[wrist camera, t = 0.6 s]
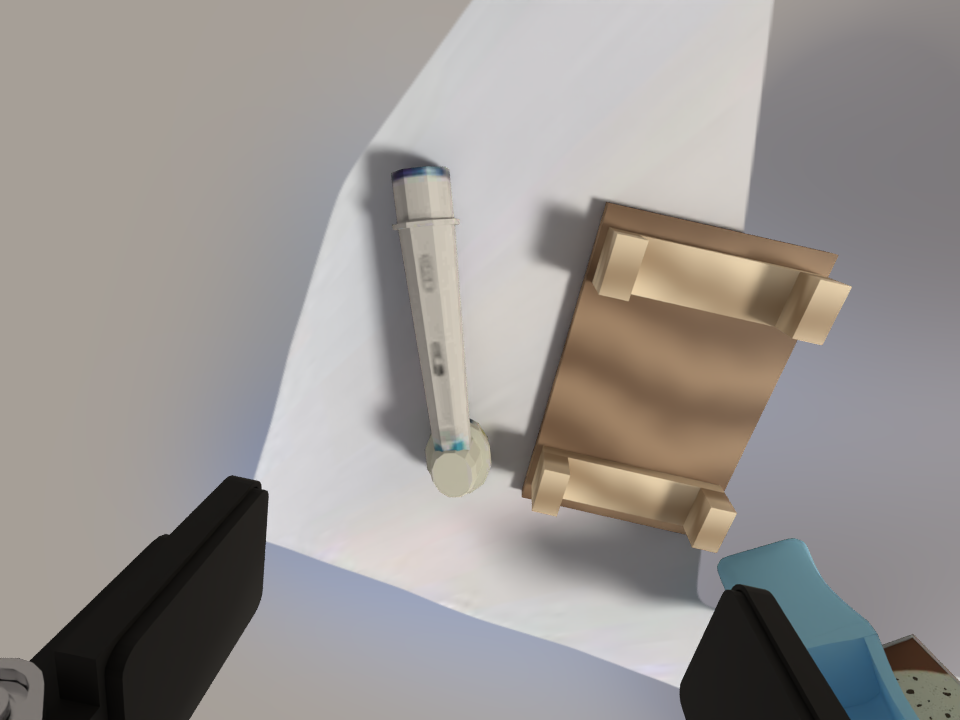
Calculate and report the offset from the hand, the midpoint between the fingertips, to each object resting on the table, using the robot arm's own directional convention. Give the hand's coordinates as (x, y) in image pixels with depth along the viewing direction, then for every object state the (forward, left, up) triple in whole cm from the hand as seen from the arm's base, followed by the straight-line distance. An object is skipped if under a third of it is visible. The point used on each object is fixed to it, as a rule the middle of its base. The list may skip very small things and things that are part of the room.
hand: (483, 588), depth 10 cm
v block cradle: (+6, +13, -29) cm, 33 cm away
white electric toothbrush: (+6, -4, -30) cm, 31 cm away
